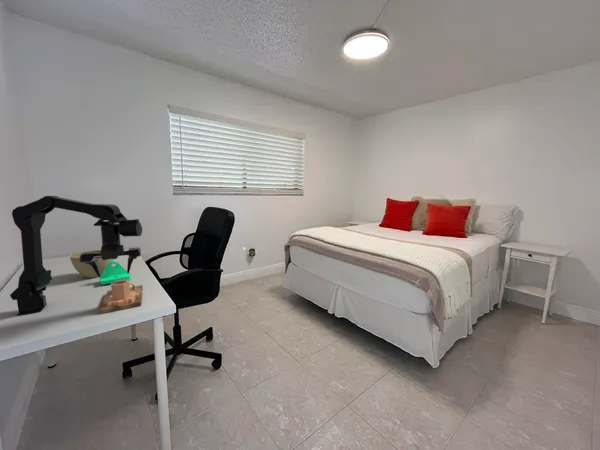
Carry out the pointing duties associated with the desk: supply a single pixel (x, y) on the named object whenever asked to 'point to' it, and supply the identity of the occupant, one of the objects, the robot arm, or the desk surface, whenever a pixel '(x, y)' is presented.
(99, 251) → the tan bowl
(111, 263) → the camera mount
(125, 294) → the gear
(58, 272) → the desk surface
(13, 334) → the desk surface
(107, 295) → the carrier
